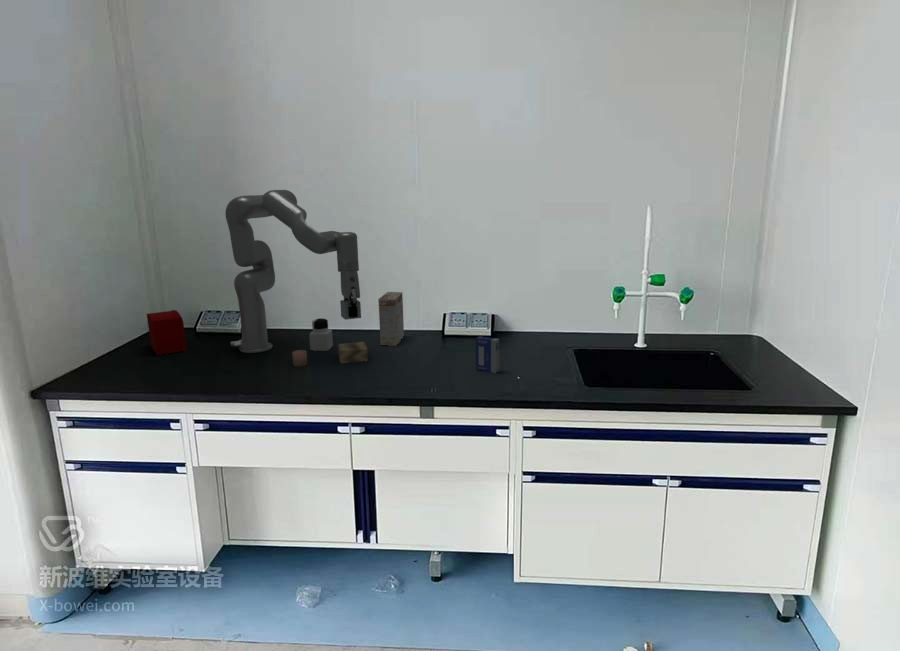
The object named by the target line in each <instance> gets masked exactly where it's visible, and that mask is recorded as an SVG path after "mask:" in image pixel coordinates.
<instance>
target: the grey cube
mask: <svg viewBox="0 0 900 651" xmlns="http://www.w3.org/2000/svg"><path fill="white" fill-rule="evenodd" d="M350 301H351V300H350ZM339 303H340V317H342V319H343V320H345V321H347V320H355V319H361V318H362V309H361V301H359V300H358V299H357V312H358V317H352V318H350V317H349V312H348V307H349V302H348V300H344V299H342V300H340V302H339Z"/></svg>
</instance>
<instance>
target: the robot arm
mask: <svg viewBox="0 0 900 651" xmlns="http://www.w3.org/2000/svg"><path fill="white" fill-rule="evenodd" d="M268 217H274V218H276V219H277V220H279V221H280V222H281V223H283V224H284V225H286V226H287V227H288V228H289V229H291V232H292V235H293V236H294V237H295V239H296V240H297V242H298V243H299V244H301V245H302V246H303V247H304V248H306V249H307V250H309V251H310V252H312V253H314V254H316V255H317V254H318V255H323V254H324V255H325V254H328V253H333V252H336V261H337V272H339V273H340V291H341V296H342V297H343V300H348V302H349V307H348V312H349V317H350V318H352V317H358V312H357V300H358V299H360V298H361V289H360V279H359V274H358V272H359V271H360V269H359V268H360V265H359V248H358V245H359V244H358V234H356V233H355V232H353V231H346V232H345V231H343V232H341V231H334V230H329V231H328V230H327V231H321V232H320V231H317V230H316V229H314V228H313V227H312V226H311V225H309V224H308V223H307V222H306V220H307V218H308V217H307V211H306V210H305V209H304V208H302V206H299V205H298V200H297V197H296V195H295V194H294V193H293V192H292V191H291V190H288V189H272V190H268V191H266V192H265V193H263V194H259V195H255V194H253V195H250V194H249V195H241V196H237V197H235V198H233V199H231V200H230V201H229V202H228V204H227V205H226V208H225V221H226V223H227V227H228V231H229V236H230V237H229V238H230V242H231V251H232V254H233V259H234V262H235V264H236V265H237V266H239V267H241V268H248V267H252V269H247V270H244V271H241V272H239V273H238V274H237V275H236V276H235V278H234V281H233V285H234V286H233V287H234V291H235V293H236V297H237V301H238V308H239V316H240V328H241V329H240V330H241V336H242V337H241V338H240V339H238V340H236V341H235V340H232V341H230V346H231V347H234V348H237V347H238V349H239V352H242V353H246V354H254V353H255V354H256V353H262V352H267V351H270V350H272V348H273V344H272V342H269V339H268V327H267V318H266V317H267V316H266V306H265V301H264V299H263V297H262V295H261V293H263V292H266V291H269V290H271V289H273V287H274V286H275V283H276V273H275V266H274V260H273V259H274V258H273V255H272V251H271V248H270V246H269V245H268V244H267V242H265V241H263V240H260V239H259V240H258V239H256V240H255V235H254V230H253V227H252V225H251V223H250V222H249V221H248V220H250V219H259V218H268ZM350 300H351V301H350Z"/></svg>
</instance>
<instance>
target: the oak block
mask: <svg viewBox="0 0 900 651" xmlns="http://www.w3.org/2000/svg"><path fill="white" fill-rule="evenodd" d="M337 346H338V347H337V348H338V351H337V352H338V358H339V363H340V364H351V363H350V362H353V363H363V361H365V362H368V361H369V355H368V354H369V352H368V347H367V345H366V342H365V341H358V342H345V343H338V344H337Z"/></svg>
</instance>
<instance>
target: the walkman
mask: <svg viewBox="0 0 900 651" xmlns="http://www.w3.org/2000/svg"><path fill="white" fill-rule="evenodd" d="M475 370H476V371H480V370H481V372H485V371H486V373H491V372H492V374H497V373H499V372H500V339H499V338H493V337H488V336H487V337H486V336H480V335H479V336H477V337H476V338H475ZM496 372H497V373H496Z"/></svg>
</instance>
